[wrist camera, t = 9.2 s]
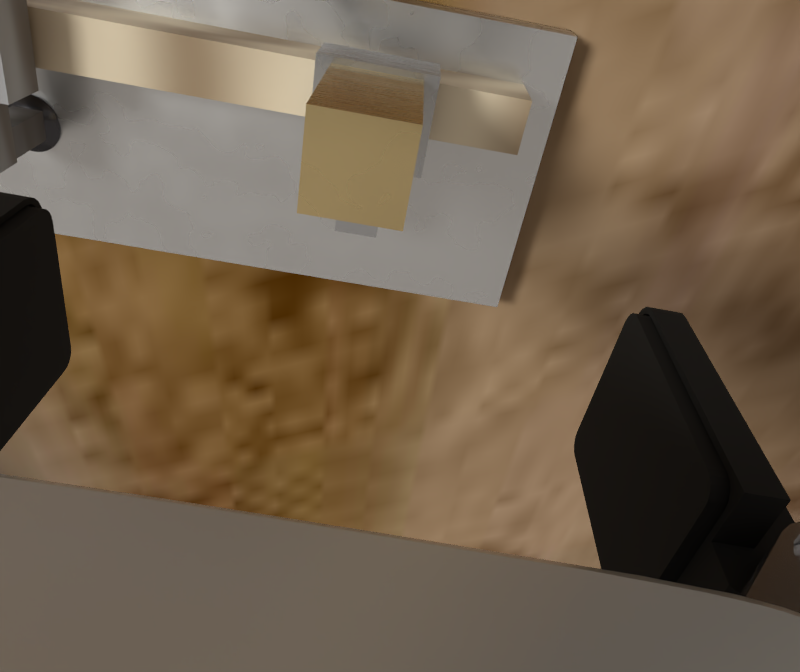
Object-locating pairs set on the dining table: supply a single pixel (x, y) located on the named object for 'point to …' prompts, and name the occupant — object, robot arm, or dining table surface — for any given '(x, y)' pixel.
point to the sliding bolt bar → (207, 71)
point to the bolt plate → (294, 153)
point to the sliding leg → (365, 137)
